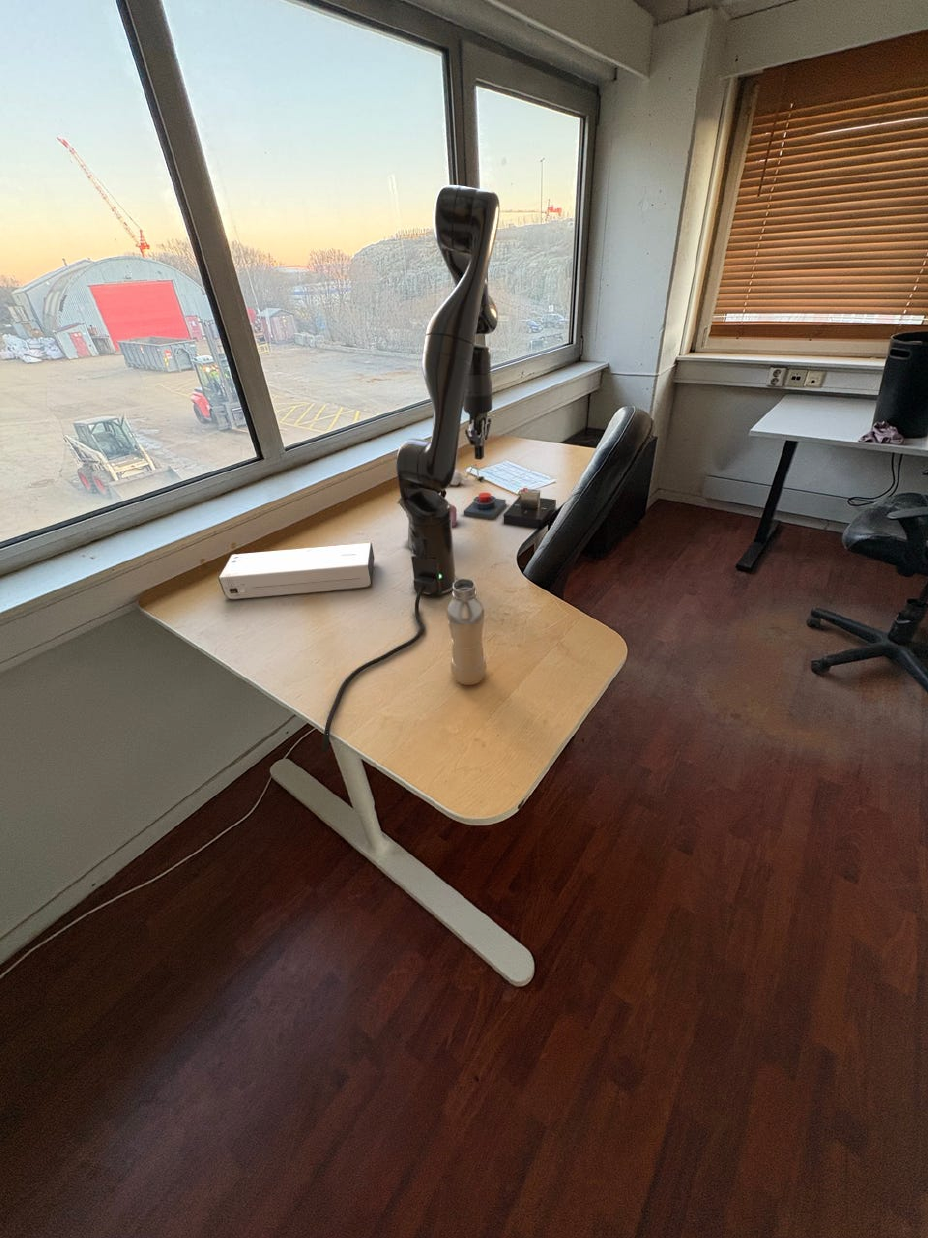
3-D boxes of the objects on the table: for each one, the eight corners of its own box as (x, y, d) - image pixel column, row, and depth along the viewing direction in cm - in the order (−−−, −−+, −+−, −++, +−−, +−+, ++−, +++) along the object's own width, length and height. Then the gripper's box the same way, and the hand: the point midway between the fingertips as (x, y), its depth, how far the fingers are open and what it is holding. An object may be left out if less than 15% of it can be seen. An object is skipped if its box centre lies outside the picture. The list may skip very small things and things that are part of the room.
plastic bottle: (485, 663, 95) (482, 572, 83) (488, 689, 89) (485, 595, 78) (451, 665, 95) (443, 574, 83) (452, 691, 89) (443, 597, 78)
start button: (488, 503, 146) (488, 498, 145) (476, 502, 148) (476, 496, 147) (492, 498, 149) (492, 493, 148) (481, 497, 150) (481, 491, 149)
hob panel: (541, 529, 138) (541, 519, 136) (503, 524, 142) (503, 513, 140) (555, 509, 148) (556, 499, 146) (519, 504, 152) (520, 494, 150)
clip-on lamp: (480, 482, 176) (429, 473, 175) (484, 464, 173) (432, 455, 171) (482, 492, 166) (428, 483, 164) (486, 473, 163) (430, 463, 161)
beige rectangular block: (539, 506, 143) (540, 489, 140) (537, 509, 142) (538, 492, 139) (523, 504, 145) (523, 487, 142) (520, 507, 143) (520, 490, 140)
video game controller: (457, 526, 146) (457, 501, 145) (455, 526, 141) (455, 500, 140) (424, 526, 147) (423, 502, 146) (421, 526, 142) (420, 501, 141)
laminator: (375, 564, 128) (371, 542, 124) (372, 590, 118) (368, 567, 114) (239, 575, 126) (231, 554, 123) (225, 603, 116) (216, 580, 113)
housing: (492, 520, 145) (492, 508, 143) (463, 516, 148) (463, 504, 146) (505, 505, 153) (505, 494, 150) (478, 501, 156) (478, 490, 154)
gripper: (481, 398, 124) (482, 467, 134) (500, 386, 134) (500, 452, 144) (453, 396, 127) (457, 464, 137) (474, 385, 136) (476, 450, 146)
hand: (479, 458), depth 140 cm, fingers closed
